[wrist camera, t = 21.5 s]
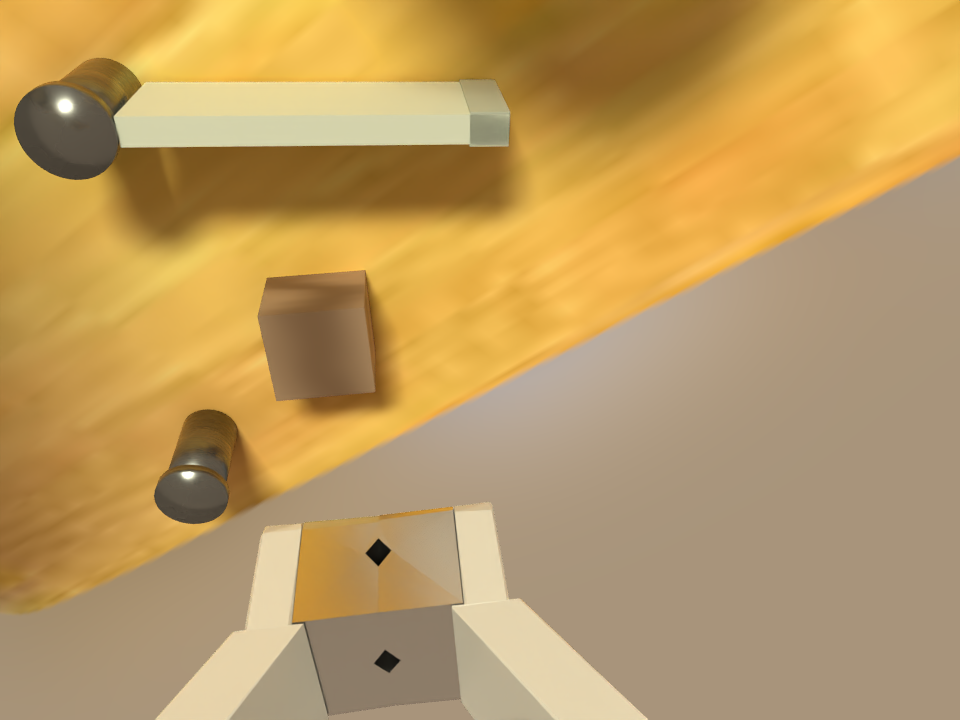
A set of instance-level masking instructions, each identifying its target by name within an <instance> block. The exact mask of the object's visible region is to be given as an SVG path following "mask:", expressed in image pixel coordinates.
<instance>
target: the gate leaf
mask: <svg viewBox="0 0 960 720" xmlns="http://www.w3.org/2000/svg"><path fill="white" fill-rule="evenodd" d="M114 120H115V125H116V129H117V133H118V138H119V142H120V146H121V148H125V147H233V146H341V145H449V144H469V146H470V147H493V146H509V126H510V110H509V108H508V106H507V104H506V102H505V100H504V98H503V96H502V94H501V92H500V89H499V87H498V85H497V83H496V81H495V79H484V80H459V82H145V83H144V85H143V86H142V87H141V88H140V89H139V90H138V91H137V92H136V93H135V94H134V95H133V96H132V97H131V98H130V99H129V101H128V102H127V103H126V104H125V105H124V106H123V107H122V108H121V109H120V110H119V111H118V112H117V113H116V114H115V115H114Z"/></svg>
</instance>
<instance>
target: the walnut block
mask: <svg viewBox="0 0 960 720" xmlns="http://www.w3.org/2000/svg"><path fill="white" fill-rule="evenodd" d="M258 320H259V325H260V329H261V334H262V338H263V343H264V347H265V352H266V356H267V361H268V365H269V370H270V374H271V379H272V383H273V388H274V392H275V397H276V401H283V400H294V399H305V398H316V397H327V396H338V395H349V394H360V393H371V392H375V343H374V336H373V328H372V320H371V312H370V304H369V297H368V289H367V281H366V273H365V270H362V271H349V272H337V273H324V274H311V275H299V276H286V277H273V278H267V280H266V284H265V288H264V293H263V297H262V301H261V305H260V309H259V313H258Z"/></svg>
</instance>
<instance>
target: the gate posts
mask: <svg viewBox="0 0 960 720" xmlns="http://www.w3.org/2000/svg"><path fill="white" fill-rule="evenodd" d="M141 87H142V86H141V84H140V82H139V81H138V79H137V78H136V76H135V75H134V74H133V73H132V72H131V71H130V70H129V69H128V68H126V67H125V66H124V65H122V64H120V63H118V62H116V61H113V60H110V59H105V58H95V59H90V60H87V61H85V62H84V63H82V64H81V65H79V66H78V67H77V68H75V69H74V70H73V71H72V72H70V73H69V74H68V75H66V76H65V77H64V78H63V79H61V80H60V81H54V82H48V83H44V84H42V85H40V86H37V87H36V88H34V89H33V90H32V91H30V92H29V93H28V94H26V95H25V96H24V97H23V98H22V100H21V101H20V102H19V104H18V106H17V108H16V112H15V117H14V126H15V132H16V135H17V138H18V141H19V143H20V145H21V146H22V148H23V150H24V151H25V152H26V154H27V155H28V156H29V157H30V158H31V159H32V160H33V161H34V162H35V163H36V164H37V165H38V166H40V167H41V168H43V169H44V170H46V171H48V172H49V173H52V174H54V175H56V176H59V177H62V178H67V179H74V180H82V179H89V178H92V177H95V176H97V175H99V174H101V173H102V172H104V171H105V170H106V169H107V168H108V167H109V166H110V165H111V163H112V162H113V161H114V160H115V158H116V157H117V155H118V152H119V150H120V142H119V138H118V133H117V129H116V125H115V120H114V115H115V114H116V113H117V112H118V111H119V110H120V109H121V108H122V107H123V106H124V105H125V104H126V103H127V102H128V101H129V99H130V98H131V97H132V96H133V95H134V94H135V93H136V92H137V91H138V90H139V89H140V88H141ZM236 438H237V427H236V424H235V423H234V421H233V420H232V419H231V418H230V417H229V416H227V415H226V414H224V413H222V412H219V411H216V410H200V411H197V412H194V413H192V414H191V415H189V416H188V417H187V418H186V420H185V422H184V424H183V427H182V430H181V433H180V436H179V439H178V442H177V446H176V449H175V452H174V455H173V458H172V461H171V464H170V467H169V470H167V471H166V472H165V473H164V474H163V475H162V476H161V477H160V479H159V481H158V483H157V486H156V489H155V494H154V497H155V502H156V504H157V506H158V508H159V509H160V510H161V511H162V512H163V513H164V514H165V515H167V516H168V517H170V518H172V519H174V520H176V521H179V522H183V523H189V524H200V523H205V522H209V521H212V520H214V519H216V518H217V517H219V516H220V515H221V514H222V513H223V512H224V510H225V509H226V506H227V503H228V498H229V487H228V484H227V482H226V481H227V477H228V472H229V468H230V464H231V459H232V455H233V451H234V447H235V442H236Z"/></svg>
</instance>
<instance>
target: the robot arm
mask: <svg viewBox="0 0 960 720" xmlns="http://www.w3.org/2000/svg"><path fill="white" fill-rule="evenodd" d="M454 699H455V700H456V699H461V703H462V704H463V705H464V707H465V708H466V709H467V711H468V712H469V713H470V715H471V716H472V717H473V719H474V720H648V719H647V718H646V717H645V716H644V715H643V714H642V713H641V712H640V711H639V710H637V709H636V708H635V707H634V706H633V705H632V704H631V703H630V702H629V701H628V700H627V699H626V698H625V697H624V696H623V695H622V694H621V693H620V692H619V691H618V690H616V689H615V688H614V687H613V686H612V685H611V684H610V683H609V682H608V681H607V680H606V679H605V678H604V677H603V676H602V675H600V673H599V672H597V671H596V670H595V669H594V668H593V667H592V666H591V665H590V664H589V663H588V662H587V661H586V660H585V659H584V658H583V657H582V656H581V655H580V654H579V653H577V651H575V650H574V649H573V648H572V647H571V646H570V645H569V644H568V643H567V642H566V641H565V640H564V639H563V638H562V637H561V636H560V635H559V634H558V633H557V632H556V631H554V630H553V629H552V628H551V627H550V626H549V625H548V624H547V623H546V622H545V621H544V620H543V619H542V618H541V617H540V616H539V615H538V614H537V613H536V612H534V611H533V610H532V609H531V608H530V607H529V606H528V605H527V604H526V603H525V602H524V601H523V600H522V599H521V598H518V599H509V595H508V590H507V585H506V578H505V573H504V567H503V561H502V555H501V549H500V543H499V538H498V533H497V526H496V520H495V514H494V509H493V506H492V505H491V503H490V502H486V503H479V504H470V505H462V506H454V510H453V507H446V508H438V509H429V510H421V511H412V512H405V513H396V514H387V515H380V516H374V517H362V518H349V519H338V520H326V521H315V522H305V523H302V524H290V525H276V526H266V527H265V529H264V531H263V533H262V535H261V538H260V544H259V550H258V555H257V561H256V567H255V573H254V579H253V585H252V591H251V596H250V602H249V608H248V615H247V620H246V626H245V630H242V631H236V632H232V633H231V635H230V636H229V637H228V638H227V639H226V640H225V641H224V642H223V644H222V645H221V646H220V647H219V648H218V649H217V651H215V653H214V654H213V655H212V656H211V657H210V658H209V659H208V660H207V662H206V663H205V664H204V665H203V666H202V667H201V668H200V669H199V671H198V672H197V673H196V674H195V675H194V676H193V677H192V678H191V680H190V681H189V682H188V683H187V684H186V685H185V686H184V687H183V689H182V690H181V691H180V692H179V693H178V694H177V695H176V696H175V698H174V699H173V700H172V701H171V702H170V703H169V704H168V706H167V707H166V708H165V709H164V710H163V711H162V712H161V713H160V714H159V716H158V717H157V718H156V719H155V720H329V718H328V716H329V715H335V714H341V713H348V712H354V711H361V710H368V709H375V708H381V707H387V706H394V705H404V704H414V703H425V702H435V701H445V700H454Z"/></svg>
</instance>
